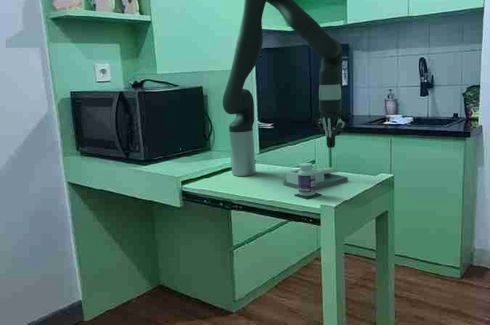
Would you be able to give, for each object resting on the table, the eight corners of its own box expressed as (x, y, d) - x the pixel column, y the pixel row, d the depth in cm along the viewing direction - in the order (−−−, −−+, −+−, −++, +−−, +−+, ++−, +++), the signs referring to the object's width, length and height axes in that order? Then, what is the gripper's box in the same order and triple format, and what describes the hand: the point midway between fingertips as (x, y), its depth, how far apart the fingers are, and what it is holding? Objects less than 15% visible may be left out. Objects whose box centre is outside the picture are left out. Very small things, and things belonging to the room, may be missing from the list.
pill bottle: (315, 196, 138) (314, 165, 136) (298, 196, 139) (296, 166, 137) (316, 191, 143) (315, 162, 141) (299, 192, 144) (298, 162, 142)
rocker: (313, 172, 157) (313, 168, 156) (330, 170, 161) (330, 166, 161) (321, 173, 153) (321, 169, 153) (338, 172, 158) (338, 168, 157)
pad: (294, 195, 141) (294, 194, 141) (309, 191, 145) (309, 190, 144) (307, 199, 136) (307, 198, 136) (321, 195, 140) (321, 194, 139)
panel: (283, 185, 156) (282, 171, 155) (321, 175, 165) (321, 162, 164) (308, 191, 145) (307, 176, 144) (347, 181, 154) (347, 167, 153)
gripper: (308, 98, 157) (310, 146, 161) (336, 99, 147) (336, 151, 150) (324, 96, 161) (325, 143, 165) (352, 97, 151) (352, 148, 154)
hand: (331, 147), depth 158 cm, fingers closed
